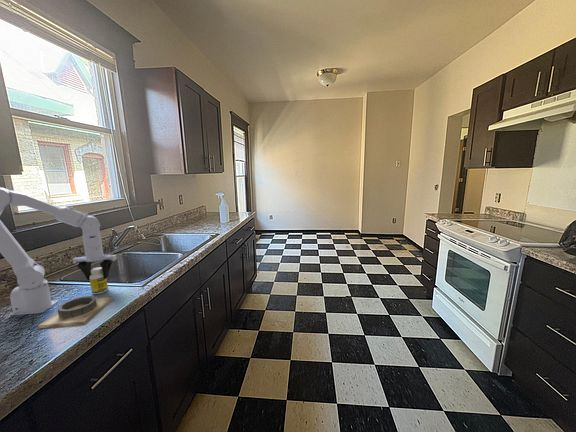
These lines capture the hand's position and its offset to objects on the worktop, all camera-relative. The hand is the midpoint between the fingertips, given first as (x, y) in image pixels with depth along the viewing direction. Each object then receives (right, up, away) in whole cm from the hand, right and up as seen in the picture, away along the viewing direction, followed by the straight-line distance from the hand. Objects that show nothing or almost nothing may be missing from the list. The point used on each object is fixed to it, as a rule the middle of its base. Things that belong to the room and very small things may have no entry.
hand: (98, 278), depth 100 cm
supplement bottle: (0, -6, +1) cm, 6 cm away
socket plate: (+4, -8, -14) cm, 17 cm away
